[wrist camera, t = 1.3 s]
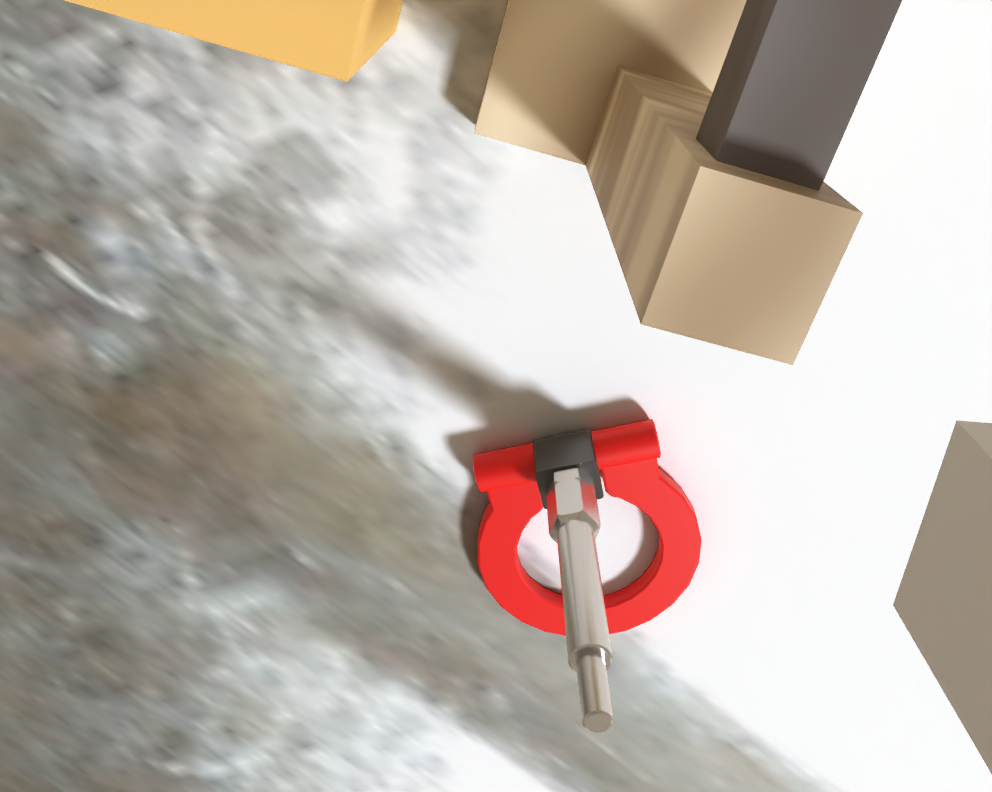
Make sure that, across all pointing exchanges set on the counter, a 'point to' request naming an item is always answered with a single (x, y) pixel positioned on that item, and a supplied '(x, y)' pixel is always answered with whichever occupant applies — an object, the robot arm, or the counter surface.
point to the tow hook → (583, 542)
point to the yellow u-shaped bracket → (275, 27)
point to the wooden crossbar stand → (699, 145)
